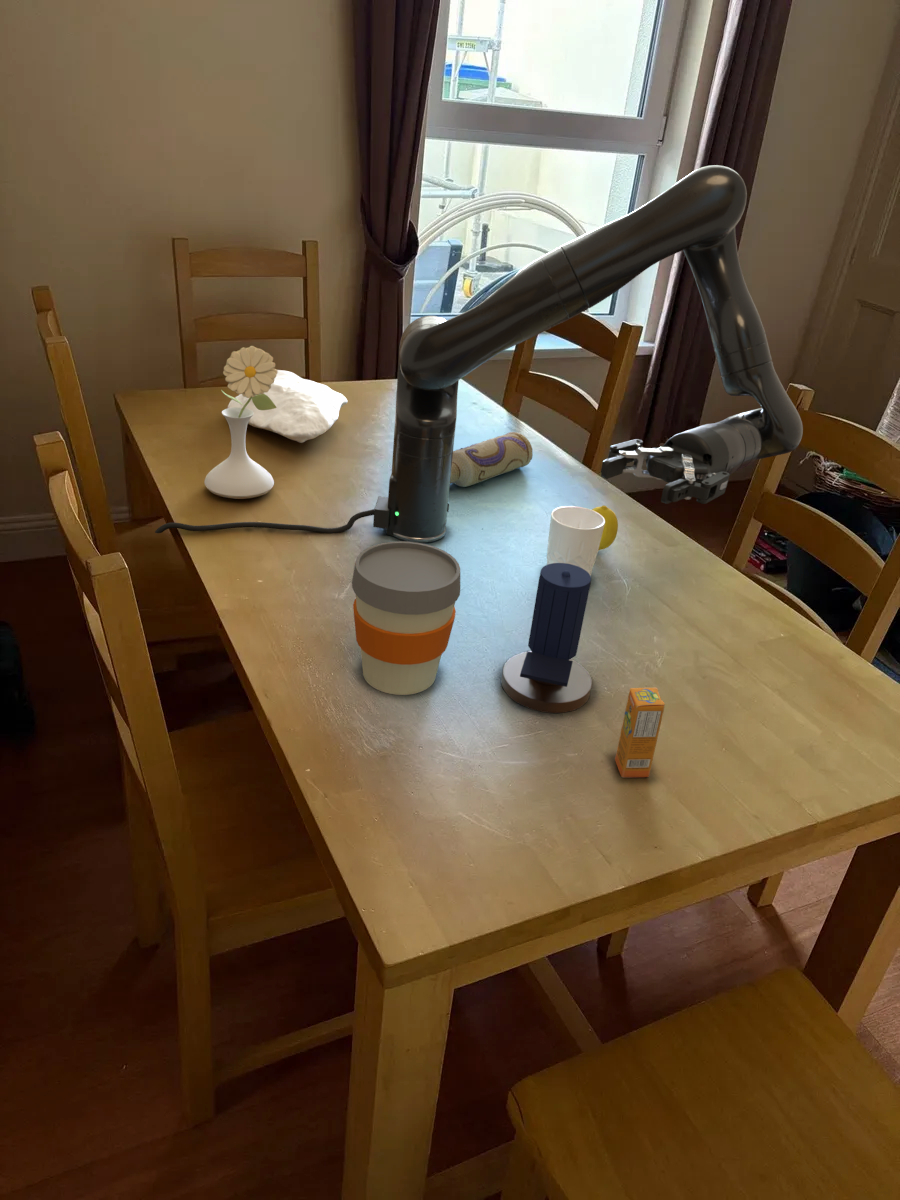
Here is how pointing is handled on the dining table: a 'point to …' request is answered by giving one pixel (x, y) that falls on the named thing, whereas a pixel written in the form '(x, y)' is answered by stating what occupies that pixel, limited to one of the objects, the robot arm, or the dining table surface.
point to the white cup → (574, 536)
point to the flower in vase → (244, 426)
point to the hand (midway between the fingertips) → (634, 482)
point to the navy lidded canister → (556, 623)
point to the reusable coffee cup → (403, 613)
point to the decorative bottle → (490, 459)
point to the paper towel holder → (546, 688)
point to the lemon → (607, 526)
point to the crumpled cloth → (296, 407)
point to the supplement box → (639, 732)
